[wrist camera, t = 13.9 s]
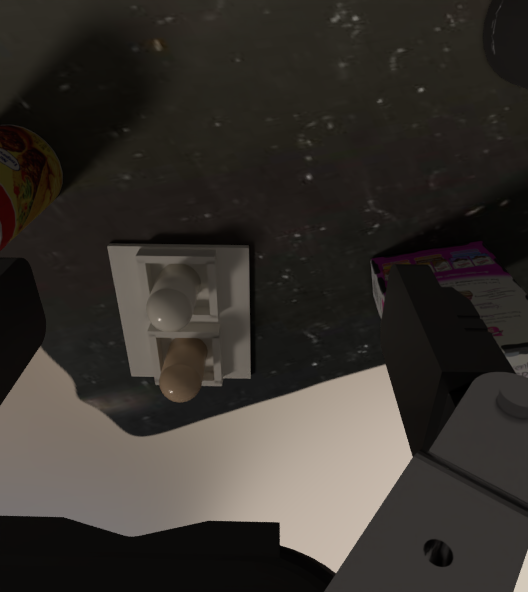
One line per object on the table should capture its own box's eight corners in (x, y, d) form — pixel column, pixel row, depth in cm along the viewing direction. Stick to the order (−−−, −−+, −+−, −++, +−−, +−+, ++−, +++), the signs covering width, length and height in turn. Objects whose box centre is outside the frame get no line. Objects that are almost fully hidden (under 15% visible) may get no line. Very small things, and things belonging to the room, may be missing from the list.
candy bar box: (372, 298, 51) (408, 413, 37) (368, 257, 48) (405, 363, 35) (482, 282, 50) (561, 394, 36) (484, 238, 47) (571, 341, 33)
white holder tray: (249, 245, 48) (247, 255, 46) (250, 375, 57) (249, 388, 55) (109, 243, 48) (102, 253, 46) (132, 372, 57) (128, 385, 55)
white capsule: (199, 263, 49) (187, 302, 42) (202, 300, 51) (191, 342, 45) (156, 262, 49) (138, 300, 43) (160, 299, 51) (143, 340, 45)
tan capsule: (206, 335, 53) (197, 379, 47) (208, 365, 56) (200, 411, 50) (166, 334, 53) (152, 378, 47) (170, 365, 56) (157, 410, 50)
